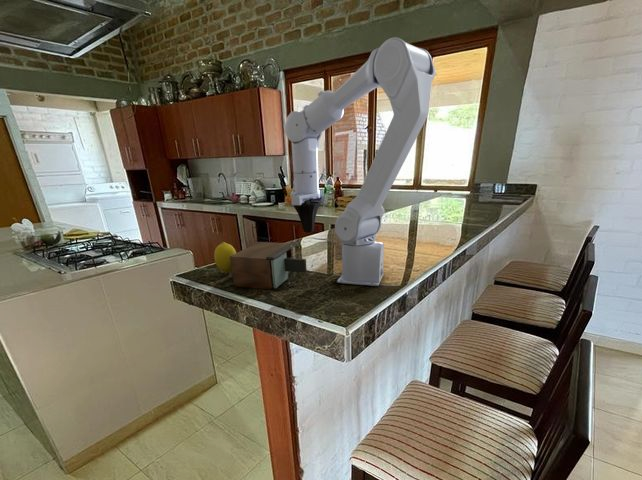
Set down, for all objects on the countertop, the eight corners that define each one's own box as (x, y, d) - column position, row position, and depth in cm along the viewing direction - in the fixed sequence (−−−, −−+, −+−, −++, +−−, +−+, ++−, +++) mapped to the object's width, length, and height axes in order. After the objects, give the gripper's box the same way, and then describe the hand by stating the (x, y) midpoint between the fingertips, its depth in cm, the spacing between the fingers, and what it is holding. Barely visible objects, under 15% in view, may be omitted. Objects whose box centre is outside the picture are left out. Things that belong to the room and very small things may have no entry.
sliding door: (308, 279, 78) (306, 253, 75) (296, 290, 72) (295, 261, 69) (286, 278, 80) (283, 251, 77) (273, 288, 74) (270, 260, 71)
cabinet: (300, 270, 86) (298, 242, 82) (277, 290, 74) (274, 257, 70) (262, 268, 89) (259, 240, 85) (234, 286, 77) (229, 254, 73)
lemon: (242, 269, 88) (238, 239, 84) (235, 276, 83) (230, 244, 79) (222, 269, 88) (216, 239, 85) (213, 276, 83) (208, 244, 80)
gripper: (300, 171, 85) (303, 225, 91) (276, 174, 73) (281, 237, 79) (327, 171, 83) (328, 226, 89) (307, 174, 71) (310, 238, 77)
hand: (308, 231), depth 84 cm, fingers closed
